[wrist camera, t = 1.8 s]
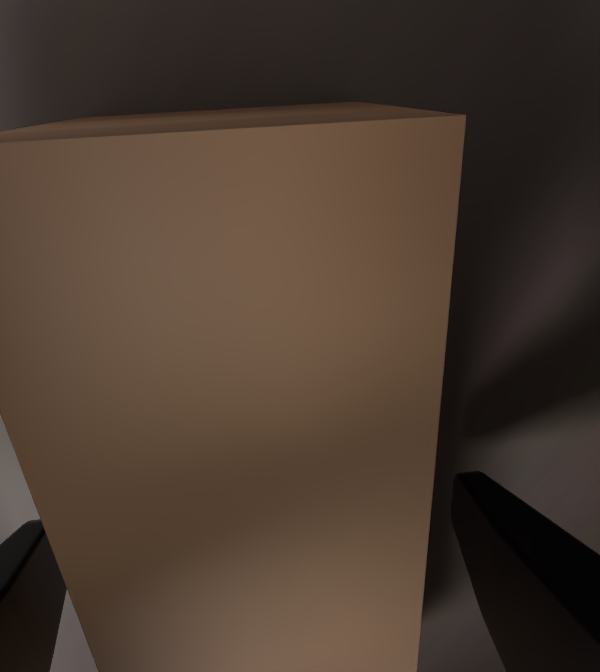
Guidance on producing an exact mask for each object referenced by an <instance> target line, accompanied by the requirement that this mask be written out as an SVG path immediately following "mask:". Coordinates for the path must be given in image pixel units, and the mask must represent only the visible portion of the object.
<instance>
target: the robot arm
mask: <svg viewBox="0 0 600 672" xmlns="http://www.w3.org/2000/svg"><path fill="white" fill-rule="evenodd" d="M451 519H452V524H453V527H454V530H455V533H456V536H457V539H458V543H459V546H460V549H461V552H462V555H463V558H464V561H465V564H466V567H467V570H468V574H469V577H470V580H471V583H472V586H473V589H474V592H475V595H476V598H477V602H478V604H479V607H480V610H481V613H482V616H483V618H484V621H485V623H486V626H487V628H488V631H489V633H490V635H491V638H492V640H493V642H494V644H495V647H496V649H497V651H498V653H499V656H500V658H501V660H502V662H503V665H504V667H505V669H506V672H600V555H599V554H598V553H596V552H595V551H594V550H592V549H591V548H589V547H588V546H587V545H585V544H584V543H582V542H581V541H579V540H578V539H577V538H575V537H574V536H572V535H571V534H570V533H568V532H567V531H565V530H564V529H562V528H561V527H560V526H558V525H557V524H555V523H554V522H552V521H551V520H550V519H548V518H547V517H545V516H544V515H543V514H541V513H540V512H538V511H537V510H535V509H534V508H533V507H531V506H530V505H528V504H527V503H526V502H524V501H523V500H521V499H520V498H518V497H517V496H516V495H514V494H513V493H511V492H510V491H508V490H507V489H506V488H504V487H503V486H501V485H500V484H499V483H497V482H496V481H494V480H493V479H491V478H490V477H489V476H487V475H486V474H484V473H482V472H480V471H472V472H463V473H458V474H456V475H455V477H454V481H453V491H452V502H451ZM66 590H67V587H66V585H65V582H64V579H63V577H62V574H61V571H60V569H59V566H58V563H57V561H56V558H55V556H54V553H53V550H52V548H51V545H50V542H49V540H48V537H47V535H46V532H45V529H44V527H43V524H42V521H41V519H38V520H31V521H28V522H26V523H25V524H23V525H22V526H21V527H20V528H19V529H17V530H16V531H15V532H14V533H13V534H12V535H11V536H10V537H8V538H7V539H6V540H5V541H4V542H3V543H2V544H0V672H49V671H50V667H51V663H52V658H53V654H54V649H55V644H56V639H57V634H58V629H59V624H60V619H61V614H62V610H63V605H64V600H65V595H66Z"/></svg>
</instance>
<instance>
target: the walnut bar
mask: <svg viewBox="0 0 600 672" xmlns="http://www.w3.org/2000/svg"><path fill="white" fill-rule="evenodd" d="M465 125H466V115H462V114H454V113H446V112H438V111H430V110H422V109H414V108H406V107H398V106H390V105H382V104H374V103H366V102H358V101H354V102H336V103H319V104H302V105H284V106H267V107H249V108H232V109H214V110H197V111H179V112H162V113H145V114H127V115H110V116H92V117H81V118H76V119H70V120H64V121H58V122H52V123H46V124H41V125H35V126H29V127H23V128H17V129H12V130H6V131H0V413H1V416H2V419H3V421H4V424H5V427H6V429H7V432H8V434H9V437H10V440H11V442H12V445H13V448H14V450H15V453H16V456H17V458H18V461H19V463H20V466H21V469H22V471H23V474H24V477H25V479H26V482H27V484H28V487H29V490H30V492H31V495H32V498H33V500H34V503H35V506H36V508H37V511H38V513H39V516H40V519H41V521H42V524H43V527H44V529H45V532H46V535H47V537H48V540H49V542H50V545H51V548H52V550H53V553H54V556H55V558H56V561H57V563H58V566H59V569H60V571H61V574H62V577H63V579H64V582H65V585H66V587H67V590H68V592H69V595H70V598H71V600H72V603H73V606H74V608H75V611H76V613H77V616H78V619H79V621H80V624H81V627H82V629H83V632H84V635H85V637H86V640H87V642H88V645H89V648H90V650H91V653H92V656H93V658H94V661H95V663H96V666H97V669H98V671H99V672H417V661H418V650H419V639H420V627H421V616H422V605H423V594H424V583H425V572H426V561H427V549H428V538H429V527H430V516H431V505H432V494H433V482H434V471H435V460H436V449H437V438H438V427H439V415H440V404H441V393H442V382H443V371H444V360H445V348H446V337H447V326H448V315H449V304H450V293H451V281H452V270H453V259H454V248H455V237H456V226H457V214H458V203H459V192H460V181H461V170H462V159H463V148H464V136H465Z"/></svg>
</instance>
